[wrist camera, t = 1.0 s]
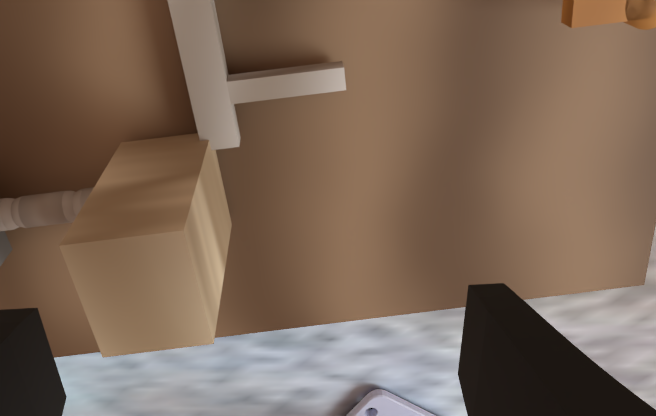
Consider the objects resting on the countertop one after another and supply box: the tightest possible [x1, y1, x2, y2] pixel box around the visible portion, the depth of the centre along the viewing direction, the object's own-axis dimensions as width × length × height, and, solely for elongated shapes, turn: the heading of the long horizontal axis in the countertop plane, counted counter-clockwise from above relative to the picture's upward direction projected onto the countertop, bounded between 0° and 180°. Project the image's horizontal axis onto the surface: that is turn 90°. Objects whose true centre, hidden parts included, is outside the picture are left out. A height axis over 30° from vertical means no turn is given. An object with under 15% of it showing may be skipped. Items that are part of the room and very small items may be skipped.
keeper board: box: [0, 0, 656, 357], centre depth 17 cm, size 24×12×4 cm, turn 96°
